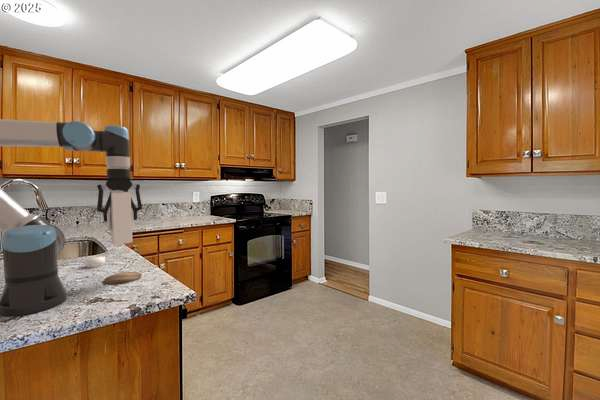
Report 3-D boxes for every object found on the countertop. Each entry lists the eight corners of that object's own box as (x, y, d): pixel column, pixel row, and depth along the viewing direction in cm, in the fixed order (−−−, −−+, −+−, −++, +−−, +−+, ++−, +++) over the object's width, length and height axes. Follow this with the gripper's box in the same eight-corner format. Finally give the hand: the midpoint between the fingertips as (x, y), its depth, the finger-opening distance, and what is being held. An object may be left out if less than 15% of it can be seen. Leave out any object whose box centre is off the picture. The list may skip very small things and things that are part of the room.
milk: (132, 242, 109) (130, 184, 108) (114, 245, 105) (111, 184, 104) (128, 240, 114) (126, 184, 112) (110, 242, 110) (108, 184, 108)
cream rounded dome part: (106, 265, 128) (105, 258, 128) (86, 269, 124) (86, 260, 123) (104, 262, 133) (104, 255, 133) (85, 265, 129) (85, 258, 129)
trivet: (141, 280, 108) (140, 278, 108) (102, 286, 102) (102, 283, 102) (141, 272, 118) (141, 270, 118) (106, 276, 113) (106, 274, 113)
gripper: (148, 169, 116) (150, 226, 117) (87, 168, 107) (90, 230, 108) (148, 168, 109) (151, 228, 111) (84, 167, 100) (87, 233, 101)
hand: (121, 229), depth 109 cm, fingers closed on milk, 7 cm apart
